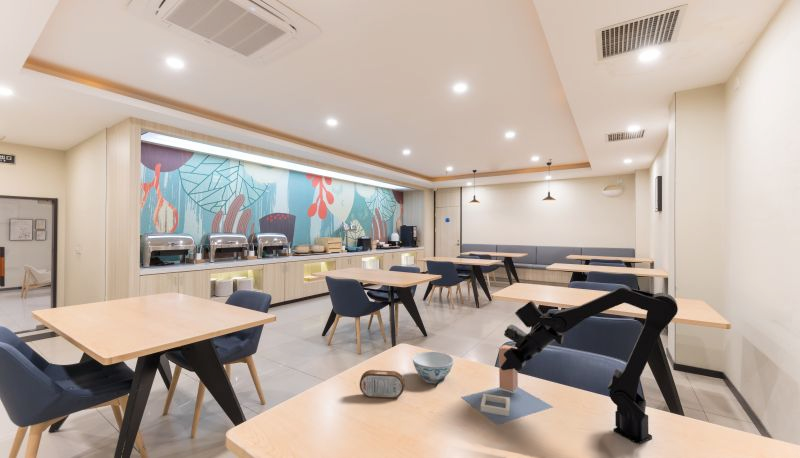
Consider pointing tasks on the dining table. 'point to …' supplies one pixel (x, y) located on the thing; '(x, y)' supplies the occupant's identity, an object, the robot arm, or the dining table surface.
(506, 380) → the terracotta pillar
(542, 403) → the board
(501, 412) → the snap socket
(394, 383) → the tin
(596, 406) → the dining table surface
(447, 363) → the chinaware
